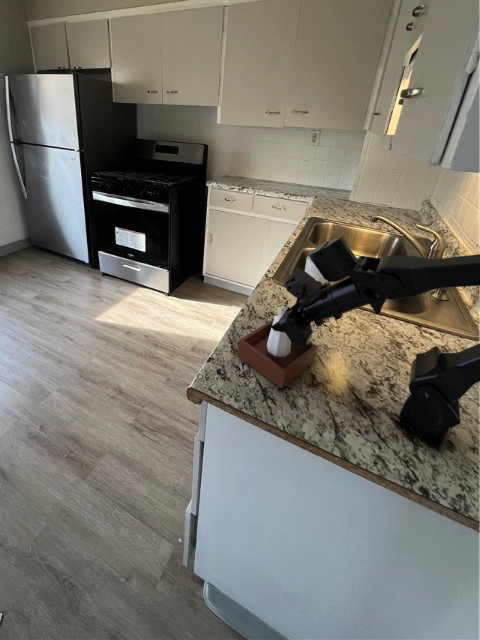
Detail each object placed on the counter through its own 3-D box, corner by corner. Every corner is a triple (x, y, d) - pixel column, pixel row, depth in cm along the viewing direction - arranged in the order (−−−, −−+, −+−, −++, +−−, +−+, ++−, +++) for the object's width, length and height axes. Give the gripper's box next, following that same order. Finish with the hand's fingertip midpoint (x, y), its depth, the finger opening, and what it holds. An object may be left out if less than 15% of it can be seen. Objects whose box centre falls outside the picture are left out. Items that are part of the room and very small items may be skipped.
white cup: (299, 280, 107) (304, 253, 103) (323, 282, 106) (329, 256, 102) (303, 292, 100) (309, 264, 96) (328, 294, 99) (336, 267, 95)
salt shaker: (269, 338, 75) (275, 299, 70) (292, 345, 73) (300, 306, 68) (263, 352, 70) (269, 312, 66) (288, 360, 68) (296, 319, 64)
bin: (314, 361, 73) (318, 346, 71) (281, 389, 65) (285, 372, 63) (270, 333, 81) (272, 319, 79) (237, 355, 74) (238, 339, 72)
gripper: (327, 247, 67) (272, 277, 77) (298, 282, 53) (235, 312, 63) (358, 291, 66) (298, 315, 76) (337, 337, 52) (267, 359, 63)
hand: (276, 323), depth 70 cm, fingers closed on salt shaker, 4 cm apart
